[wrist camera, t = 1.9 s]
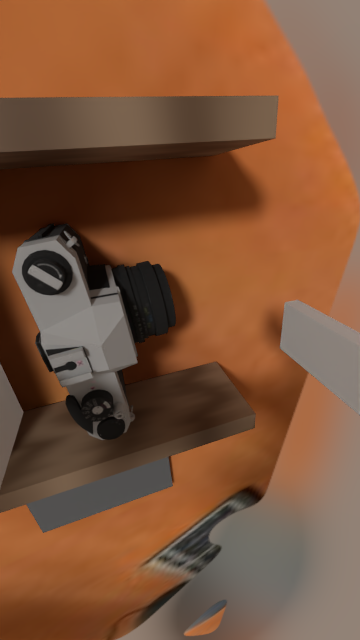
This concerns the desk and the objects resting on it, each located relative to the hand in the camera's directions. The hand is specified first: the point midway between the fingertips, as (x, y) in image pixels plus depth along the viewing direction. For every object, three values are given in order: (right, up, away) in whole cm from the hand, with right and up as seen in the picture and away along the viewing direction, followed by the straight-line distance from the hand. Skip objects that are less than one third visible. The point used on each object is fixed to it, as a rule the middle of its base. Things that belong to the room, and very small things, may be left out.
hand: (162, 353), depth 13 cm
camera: (-4, +3, +8) cm, 10 cm away
